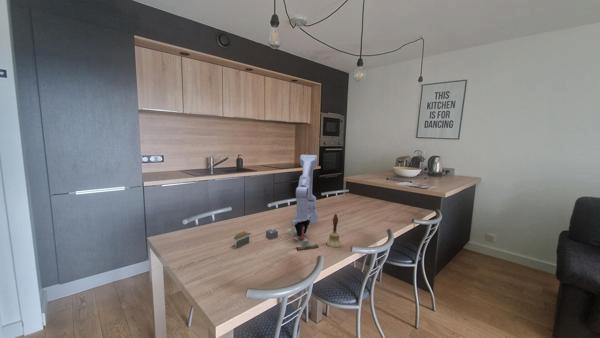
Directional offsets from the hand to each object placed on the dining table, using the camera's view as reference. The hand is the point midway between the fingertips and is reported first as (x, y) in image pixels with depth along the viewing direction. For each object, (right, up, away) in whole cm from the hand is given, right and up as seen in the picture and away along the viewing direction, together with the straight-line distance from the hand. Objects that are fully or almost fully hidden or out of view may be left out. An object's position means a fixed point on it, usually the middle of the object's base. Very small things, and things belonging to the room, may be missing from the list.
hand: (301, 234), depth 128 cm
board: (-1, -3, +3) cm, 5 cm away
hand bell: (+17, -5, -1) cm, 17 cm away
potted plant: (-30, -4, -5) cm, 31 cm away
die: (-16, -3, +2) cm, 16 cm away
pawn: (0, -1, 0) cm, 2 cm away
